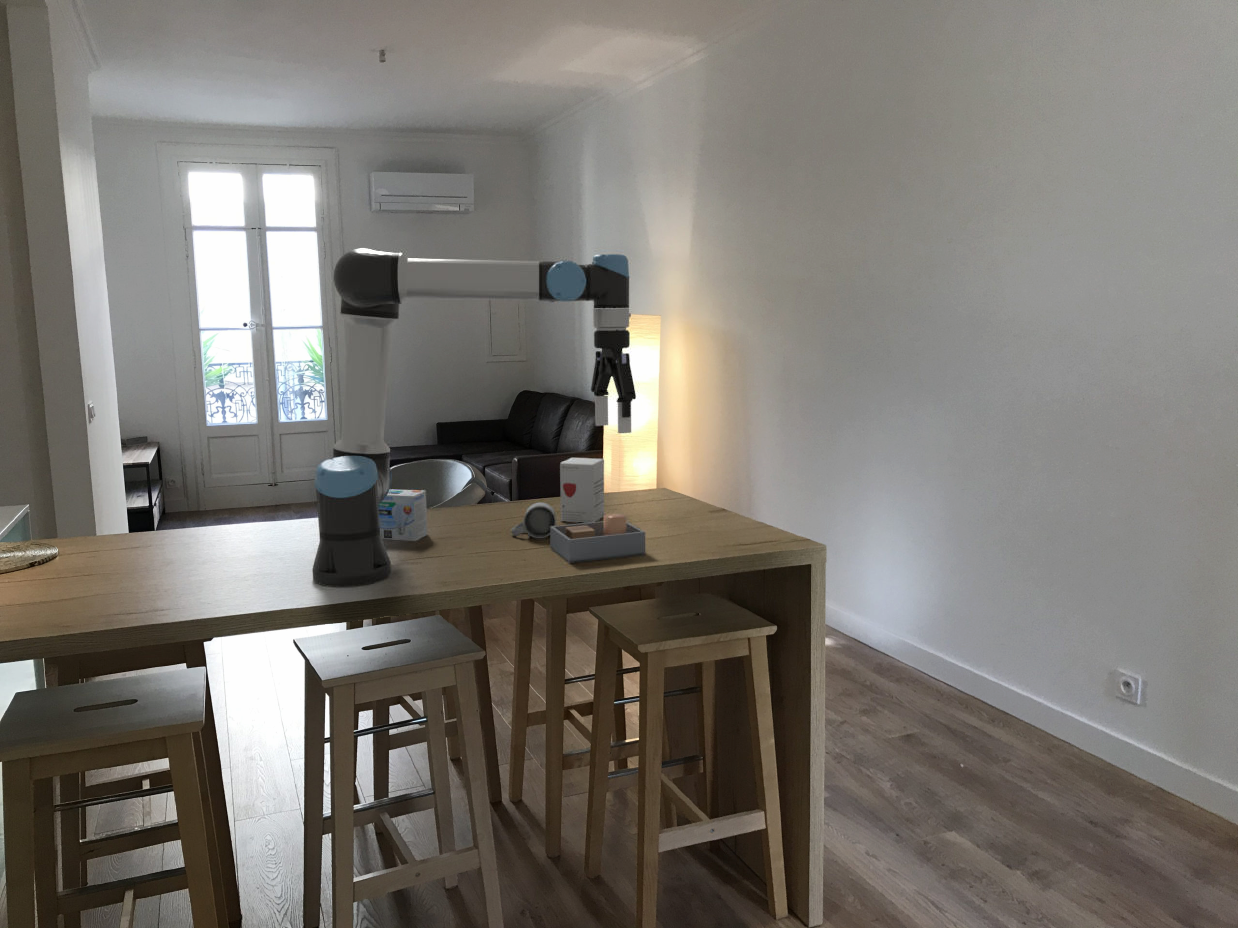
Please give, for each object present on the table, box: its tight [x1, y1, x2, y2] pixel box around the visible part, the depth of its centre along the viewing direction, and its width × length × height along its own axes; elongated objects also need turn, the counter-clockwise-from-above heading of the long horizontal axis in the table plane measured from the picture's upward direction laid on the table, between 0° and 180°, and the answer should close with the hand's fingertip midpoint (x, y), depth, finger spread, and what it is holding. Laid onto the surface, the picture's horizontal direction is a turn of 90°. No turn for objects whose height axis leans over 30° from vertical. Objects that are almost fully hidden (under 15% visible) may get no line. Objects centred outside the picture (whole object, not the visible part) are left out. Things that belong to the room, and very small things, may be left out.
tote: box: [549, 520, 646, 564], centre depth 203 cm, size 17×13×5 cm
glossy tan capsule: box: [603, 513, 627, 536], centre depth 204 cm, size 5×5×7 cm
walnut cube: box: [565, 525, 595, 539], centre depth 201 cm, size 5×5×5 cm
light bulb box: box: [379, 488, 429, 542], centre depth 217 cm, size 11×7×11 cm, turn 76°
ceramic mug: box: [510, 502, 557, 539], centre depth 219 cm, size 11×8×8 cm
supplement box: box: [559, 457, 605, 523], centre depth 233 cm, size 9×9×15 cm
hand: (612, 429), depth 200 cm, fingers open, 13 cm apart
